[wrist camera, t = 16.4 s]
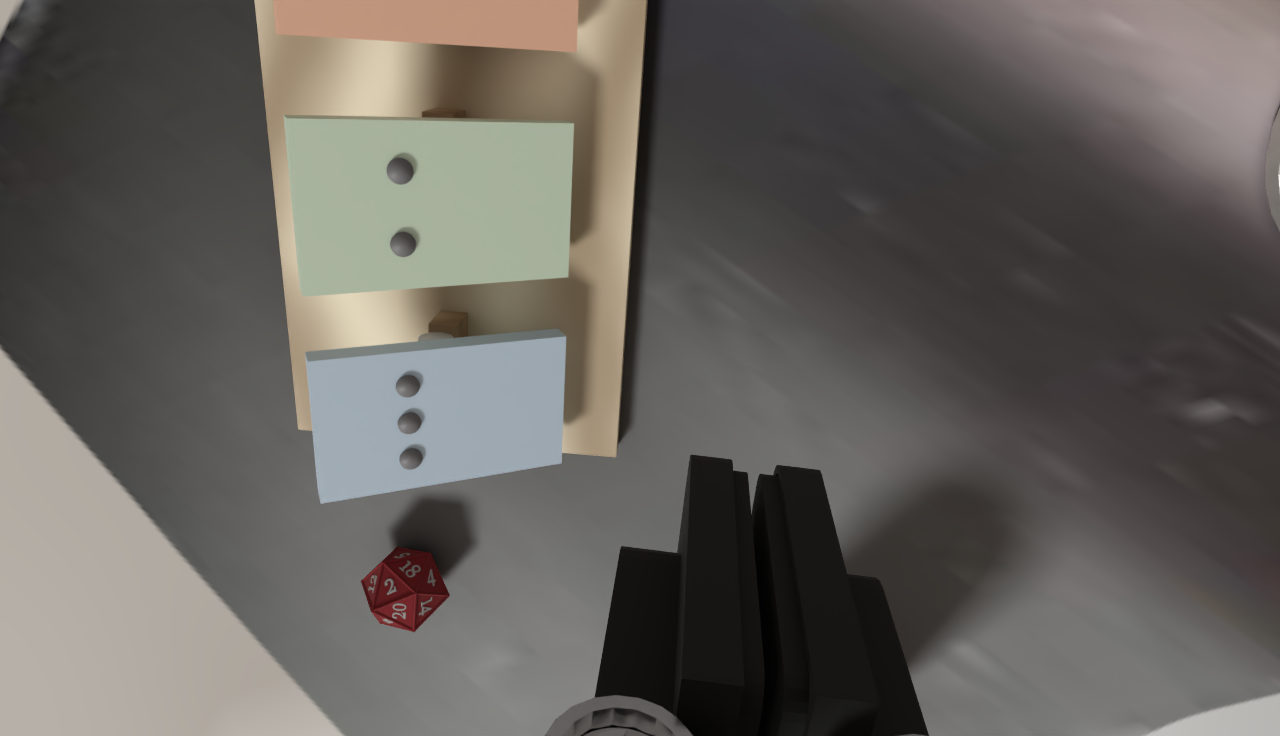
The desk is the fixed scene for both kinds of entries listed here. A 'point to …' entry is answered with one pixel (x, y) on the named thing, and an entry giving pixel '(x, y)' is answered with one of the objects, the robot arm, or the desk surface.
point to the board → (485, 89)
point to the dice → (405, 589)
